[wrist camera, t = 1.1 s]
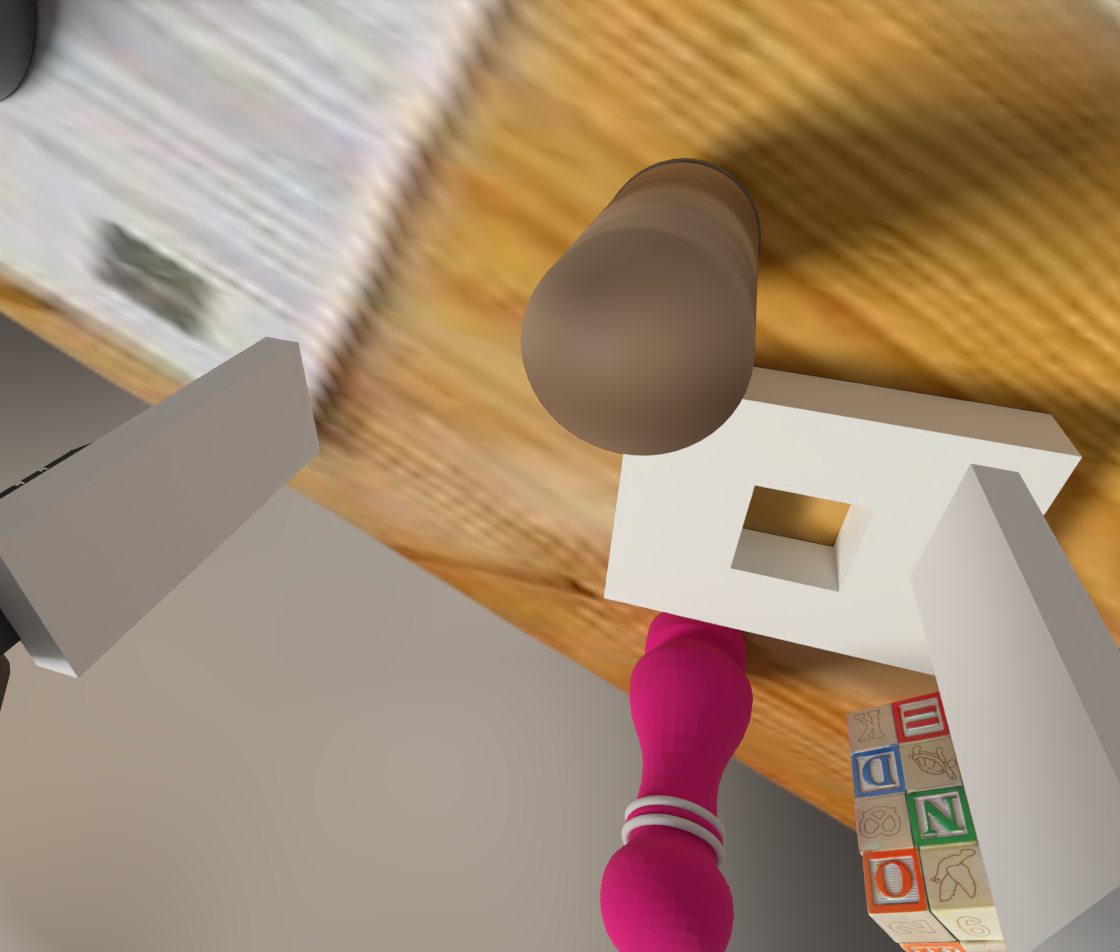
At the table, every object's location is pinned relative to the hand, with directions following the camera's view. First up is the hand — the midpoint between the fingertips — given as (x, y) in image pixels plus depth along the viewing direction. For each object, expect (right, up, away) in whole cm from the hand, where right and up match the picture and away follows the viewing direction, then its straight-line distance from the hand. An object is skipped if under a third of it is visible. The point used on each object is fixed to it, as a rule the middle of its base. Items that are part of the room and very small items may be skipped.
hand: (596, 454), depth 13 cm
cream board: (+12, -2, +21) cm, 24 cm away
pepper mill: (+8, -11, +29) cm, 32 cm away
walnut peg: (+5, +10, +14) cm, 19 cm away
